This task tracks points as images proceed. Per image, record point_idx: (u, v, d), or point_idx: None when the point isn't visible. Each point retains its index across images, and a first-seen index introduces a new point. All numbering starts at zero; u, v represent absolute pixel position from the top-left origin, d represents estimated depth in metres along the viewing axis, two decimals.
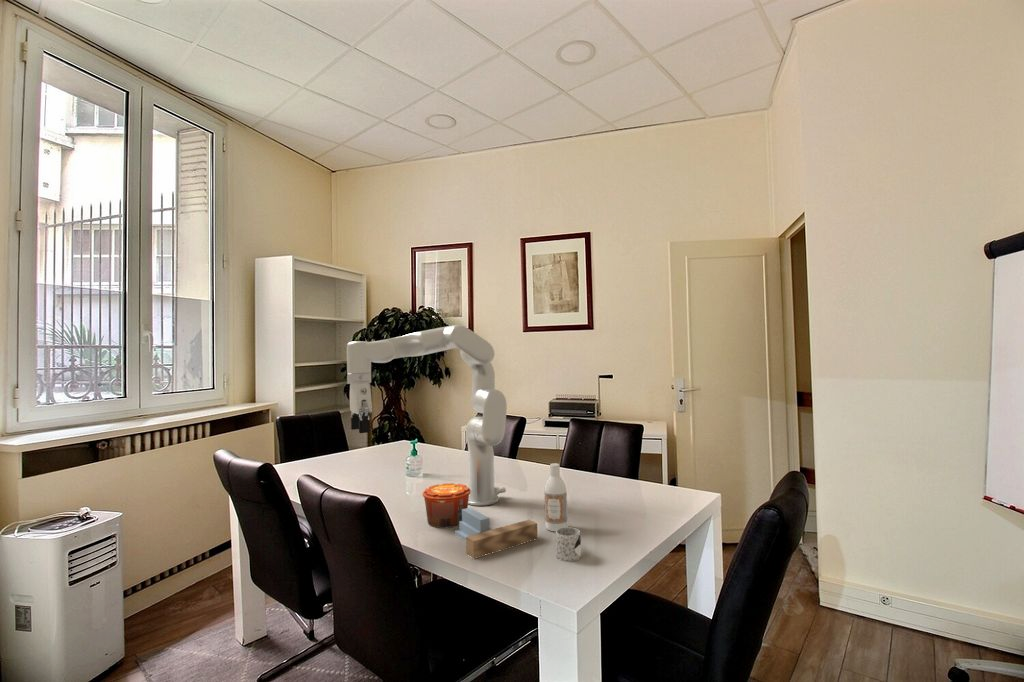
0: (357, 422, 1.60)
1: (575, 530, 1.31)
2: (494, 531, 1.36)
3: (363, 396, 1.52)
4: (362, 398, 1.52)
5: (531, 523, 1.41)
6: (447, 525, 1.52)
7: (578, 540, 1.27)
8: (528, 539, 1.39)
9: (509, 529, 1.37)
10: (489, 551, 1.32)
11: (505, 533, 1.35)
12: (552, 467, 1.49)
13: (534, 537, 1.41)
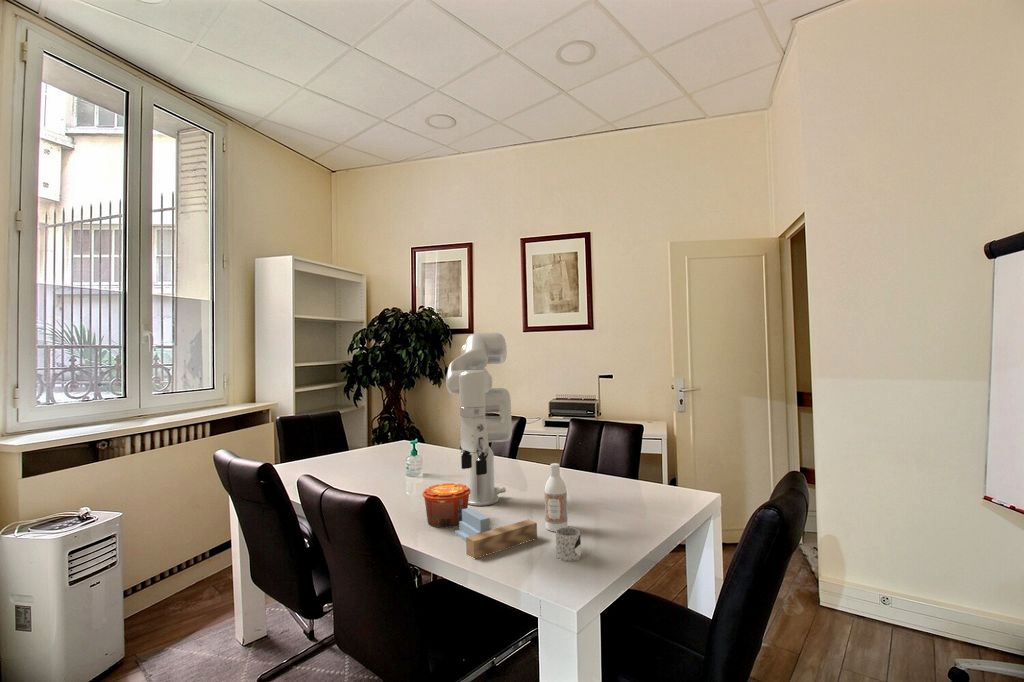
0: (468, 460, 1.44)
1: (575, 530, 1.31)
2: (494, 531, 1.36)
3: (480, 433, 1.36)
4: (479, 435, 1.36)
5: (531, 523, 1.41)
6: (447, 525, 1.52)
7: (578, 540, 1.27)
8: (528, 539, 1.40)
9: (509, 529, 1.37)
10: (489, 551, 1.32)
11: (505, 533, 1.35)
12: (552, 467, 1.49)
13: (534, 537, 1.41)
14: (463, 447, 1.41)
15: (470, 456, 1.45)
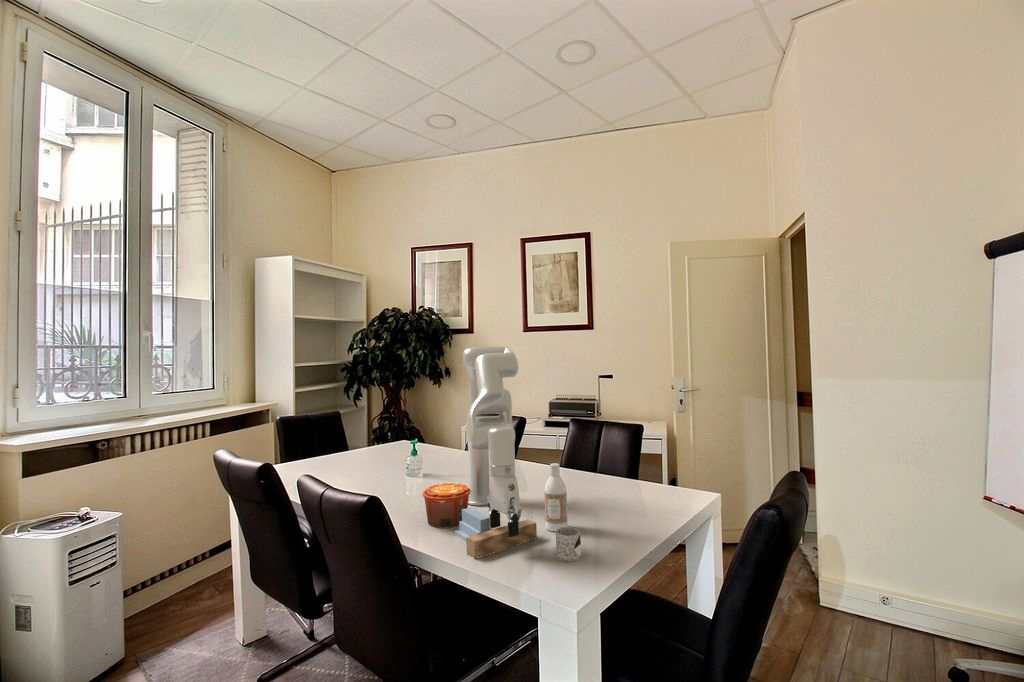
0: (496, 519, 1.40)
1: (575, 530, 1.31)
2: (494, 531, 1.36)
3: (512, 493, 1.32)
4: (511, 495, 1.32)
5: (530, 523, 1.41)
6: (447, 525, 1.52)
7: (578, 540, 1.27)
8: (527, 539, 1.40)
9: None
10: (490, 551, 1.31)
11: (505, 533, 1.35)
12: (552, 467, 1.49)
13: (533, 537, 1.41)
14: (492, 506, 1.37)
15: (499, 514, 1.40)
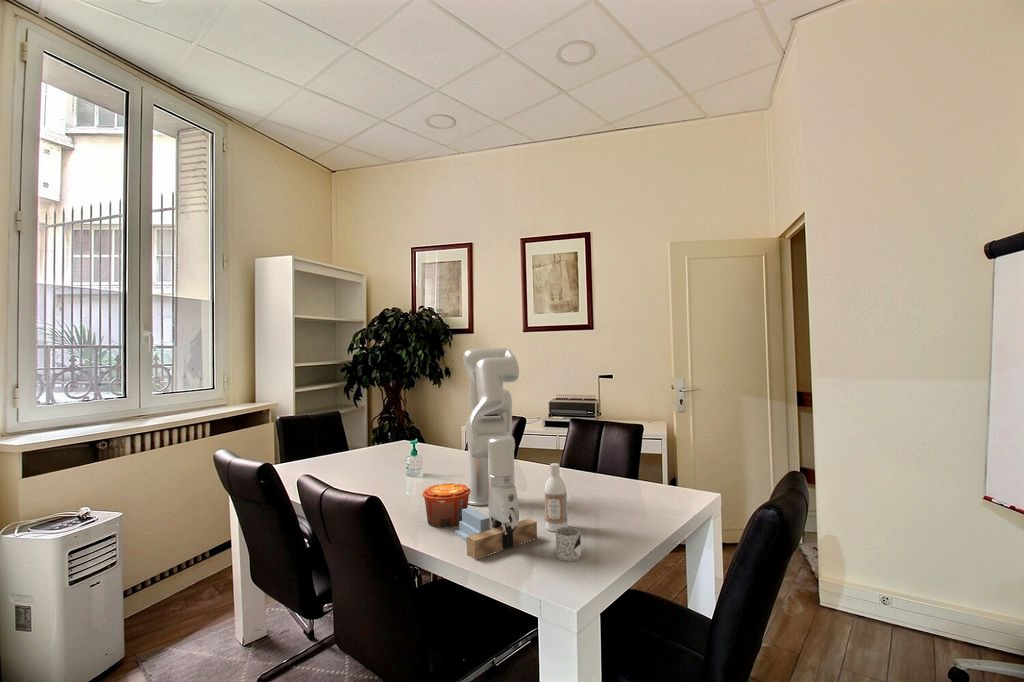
0: None
1: (575, 530, 1.31)
2: (494, 530, 1.35)
3: (511, 503, 1.33)
4: (510, 506, 1.32)
5: (531, 522, 1.41)
6: (447, 525, 1.52)
7: (578, 540, 1.27)
8: (528, 538, 1.39)
9: None
10: (490, 550, 1.31)
11: None
12: (552, 467, 1.49)
13: (534, 536, 1.41)
14: (492, 515, 1.38)
15: None
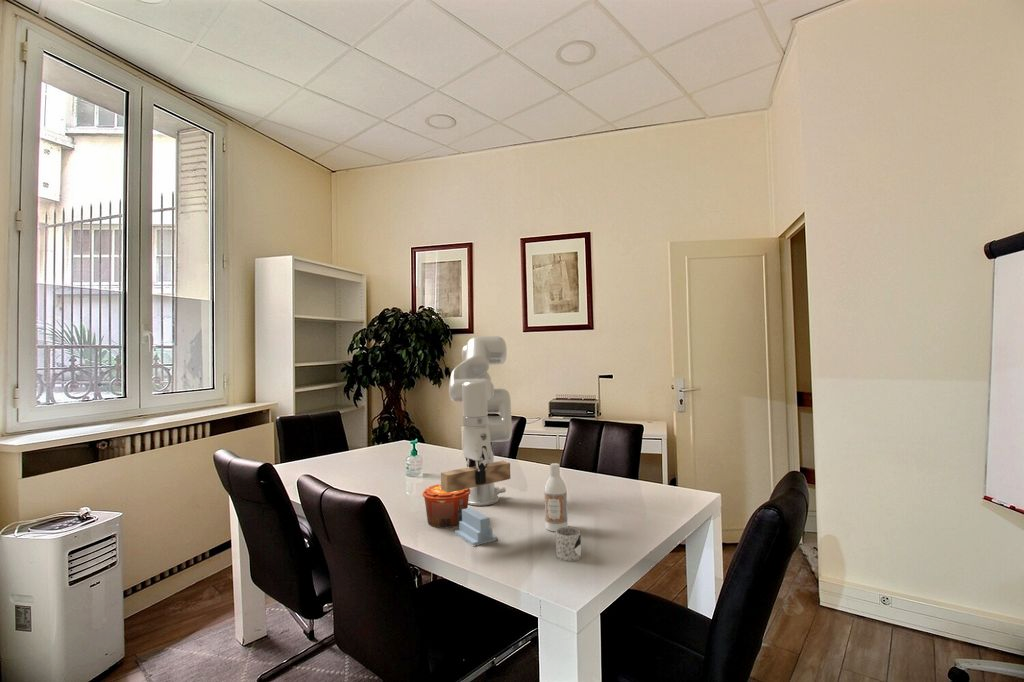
0: None
1: (575, 530, 1.31)
2: (468, 468, 1.43)
3: (483, 442, 1.40)
4: (482, 444, 1.40)
5: (504, 463, 1.49)
6: (447, 525, 1.52)
7: (578, 540, 1.27)
8: (501, 477, 1.47)
9: None
10: (463, 486, 1.39)
11: None
12: (552, 467, 1.49)
13: (507, 476, 1.48)
14: (466, 455, 1.45)
15: None
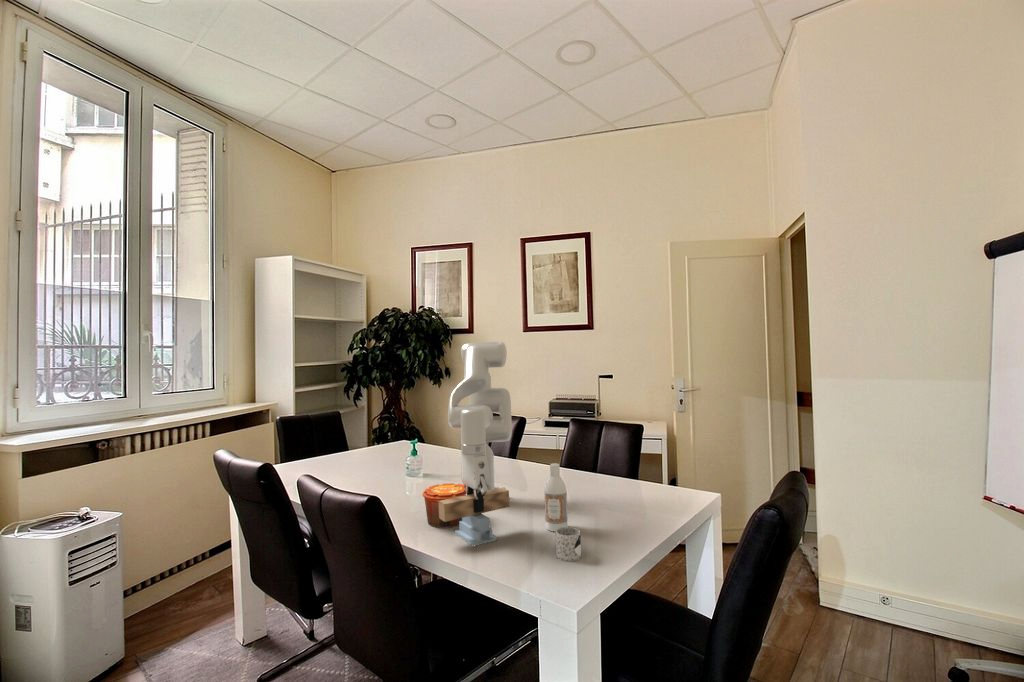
0: None
1: (575, 530, 1.31)
2: (466, 496, 1.44)
3: (481, 470, 1.41)
4: (480, 472, 1.40)
5: (503, 491, 1.48)
6: (447, 525, 1.52)
7: (578, 540, 1.27)
8: (499, 505, 1.47)
9: None
10: (460, 514, 1.40)
11: None
12: (552, 467, 1.49)
13: (506, 504, 1.48)
14: (464, 482, 1.46)
15: None
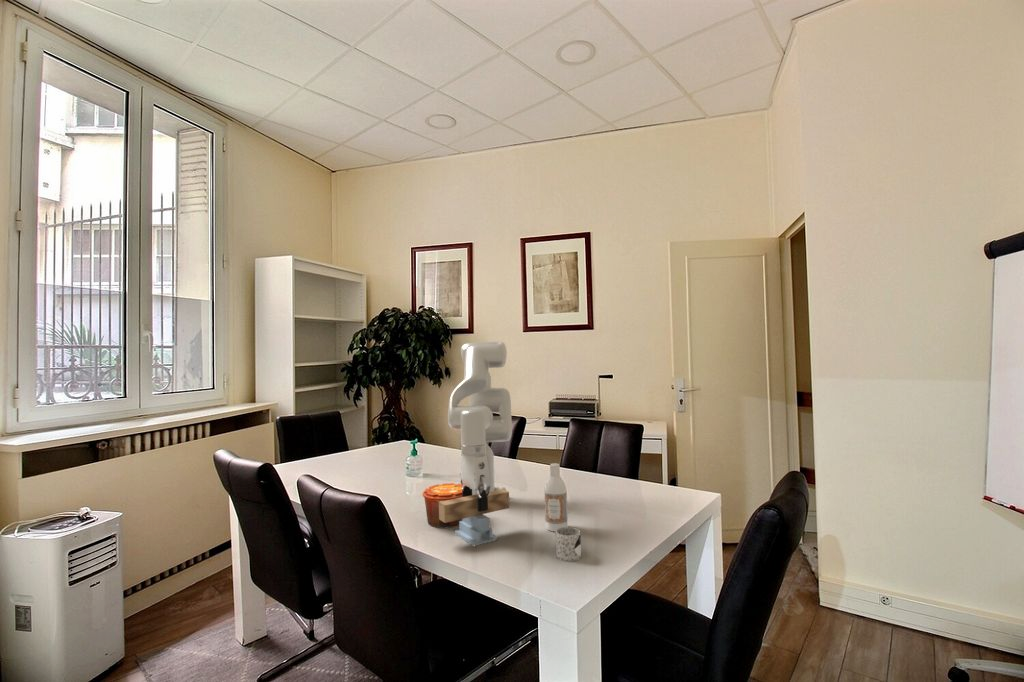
0: (469, 495, 1.48)
1: (575, 530, 1.31)
2: (466, 498, 1.44)
3: (481, 471, 1.41)
4: (480, 473, 1.40)
5: (503, 492, 1.49)
6: (447, 525, 1.52)
7: (578, 540, 1.27)
8: (500, 506, 1.47)
9: None
10: (460, 515, 1.40)
11: (476, 499, 1.43)
12: (552, 467, 1.49)
13: (506, 505, 1.48)
14: (464, 483, 1.46)
15: (471, 491, 1.49)
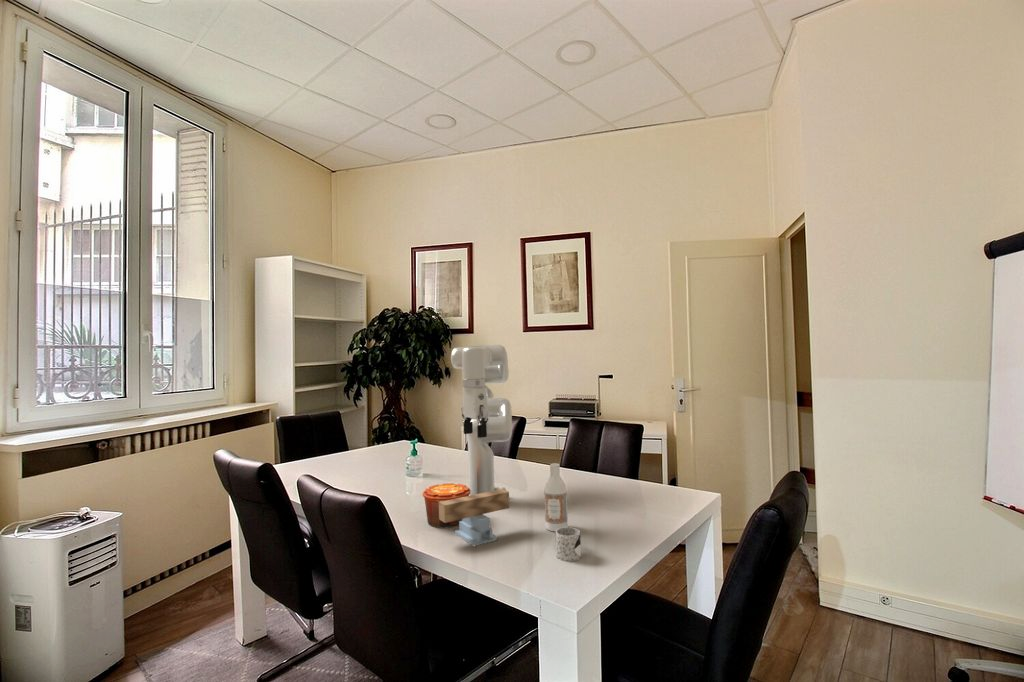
0: (469, 427, 1.63)
1: (575, 530, 1.31)
2: (466, 498, 1.44)
3: (481, 401, 1.55)
4: (480, 403, 1.55)
5: (503, 492, 1.49)
6: (447, 525, 1.52)
7: (578, 540, 1.27)
8: (500, 506, 1.47)
9: (481, 496, 1.45)
10: (460, 515, 1.40)
11: (476, 499, 1.43)
12: (552, 467, 1.49)
13: (506, 505, 1.48)
14: (465, 414, 1.60)
15: (471, 423, 1.63)
